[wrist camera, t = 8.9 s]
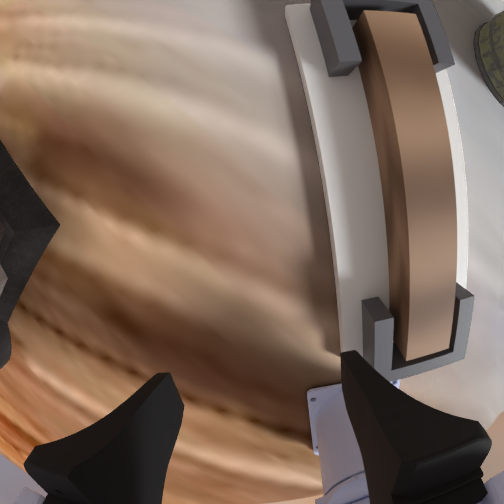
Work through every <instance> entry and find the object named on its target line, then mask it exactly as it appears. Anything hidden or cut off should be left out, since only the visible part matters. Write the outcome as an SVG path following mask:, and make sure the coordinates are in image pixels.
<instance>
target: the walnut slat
mask: <svg viewBox="0 0 504 504" xmlns="http://www.w3.org/2000/svg"><path fill="white" fill-rule="evenodd" d="M352 29H353V32H354V35H355V39H356V42H357V45H358V49H359V52H360V55H361V59H362V61H361V62H360V63H359V64H358V68H359V72H360V75H361V79H362V83H363V88H364V92H365V96H366V100H367V105H368V110H369V114H370V119H371V124H372V129H373V135H374V140H375V146H376V152H377V158H378V165H379V171H380V179H381V186H382V194H383V203H384V213H385V223H386V236H387V251H388V271H389V312H390V313H391V315H392V316H393V317H394V329H393V341H394V342H395V344H396V345H397V347H398V349H399V350H400V352H401V354H402V355H403V357H404V359H405V360H406V361H409V360H412V359H416V358H419V357H423V356H426V355H429V354H432V353H436V352H439V351H442V350H445V349H448V348H449V343H450V337H451V329H452V322H453V313H454V303H455V291H456V275H457V208H456V192H455V180H454V170H453V161H452V153H451V146H450V139H449V133H448V127H447V122H446V117H445V112H444V107H443V102H442V98H441V93H440V89H439V85H438V81H437V77H436V73H435V70H434V66H433V63H432V59H431V56H430V53H429V50H428V46H427V43H426V40H425V37H424V35H423V32H422V29H421V26H420V23H419V21H418V18H417V16H416V14H412V13H402V12H390V11H371V10H364V11H363V12H362V14H361V15H360V17H359V18H358V20H357V22H356V23H355V25H354V26H353V28H352Z"/></svg>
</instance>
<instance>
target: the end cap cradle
mask: <svg viewBox="0 0 504 504" xmlns="http://www.w3.org/2000/svg"><path fill="white" fill-rule="evenodd" d="M364 10H371V11H390V12H402V13H412V14H416V16H417V18H418V21H419V23H420V26H421V29H422V32H423V35H424V37H425V40H426V43H427V46H428V50H429V53H430V56H431V59H432V63H433V66H434V70H435V73H436V77H437V81H438V85H439V89H440V93H441V98H442V102H443V107H444V112H445V117H446V122H447V127H448V133H449V139H450V146H451V153H452V161H453V170H454V180H455V192H456V208H457V275H456V291H455V303H454V313H453V322H452V329H451V337H450V343H449V348H448V349H445V350H442V351H439V352H436V353H432V354H429V355H426V356H423V357H419V358H416V359H412V360H409V361H406V360H405V359H404V357H403V355H402V354H401V352H400V350H399V349H398V347H397V345H396V344H395V342H394V341H393V329H394V317H393V316H392V315H391V313H390V312H389V271H388V251H387V236H386V223H385V213H384V203H383V194H382V186H381V179H380V171H379V165H378V158H377V152H376V146H375V140H374V135H373V129H372V124H371V119H370V114H369V110H368V105H367V100H366V96H365V92H364V88H363V83H362V79H361V75H360V72H359V68H358V64H359V63H360V62H361V61H362V59H361V55H360V52H359V49H358V45H357V42H356V39H355V35H354V32H353V29H352V28H353V26H354V25H355V23H356V22H357V20H358V18H359V17H360V15H361V14H362V12H363V11H364ZM285 18H286V22H287V25H288V29H289V32H290V36H291V40H292V43H293V47H294V51H295V55H296V59H297V63H298V67H299V71H300V75H301V79H302V83H303V88H304V92H305V96H306V101H307V106H308V110H309V115H310V120H311V125H312V130H313V135H314V140H315V145H316V150H317V156H318V161H319V167H320V173H321V179H322V185H323V191H324V198H325V204H326V211H327V218H328V225H329V233H330V241H331V249H332V257H333V266H334V275H335V285H336V295H337V307H338V319H339V333H340V349H341V352H346V351H351V350H356V351H358V353H359V354H360V355H361V356H362V357H363V358H364V359H365V360H366V361H367V362H368V363H369V364H370V365H371V366H372V367H373V368H374V369H375V370H376V371H377V372H379V373H380V374H381V375H382V376H383V377H384V378H385V379H387V380H388V381H389V382H392V381H395V380H399V379H403V378H406V377H410V376H413V375H417V374H420V373H423V372H427V371H430V370H433V369H436V368H439V367H442V366H445V365H448V364H451V363H454V362H456V361H459V360H462V359H464V358H465V353H466V348H467V343H468V337H469V332H470V325H471V319H472V312H473V304H474V295H473V294H471V293H470V292H469V291H467V290H466V283H467V267H468V202H467V186H466V175H465V165H464V156H463V149H462V142H461V135H460V129H459V123H458V118H457V113H456V108H455V103H454V99H453V94H452V90H451V86H450V82H449V78H448V74H447V71H446V68H448V67H450V66H452V65H455V63H454V60H453V56H452V53H451V50H450V47H449V44H448V41H447V38H446V35H445V32H444V30H443V27H442V24H441V22H440V19H439V16H438V14H437V12H436V9H435V7H434V4H433V2H432V0H312V1H311V3H302V4H291V5H285Z"/></svg>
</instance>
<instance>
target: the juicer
mask: <svg viewBox="0 0 504 504" xmlns="http://www.w3.org/2000/svg"><path fill="white" fill-rule="evenodd" d="M59 226H60V224H59V223H58V221H57V220H56V219H55V218H54V216H53V215H52V214H51V212H50V211H49V210H48V208H47V207H46V206H45V205H44V203H43V202H42V201H41V199H40V198H39V196H38V195H37V194H36V192H35V191H34V190H33V188H32V187H31V185H30V184H29V183H28V181H27V180H26V178H25V177H24V175H23V174H22V172H21V171H20V170H19V168H18V167H17V165H16V164H15V162H14V161H13V159H12V158H11V156H10V154H9V153H8V151H7V150H6V148H5V147H4V145H3V143H2V142H1V140H0V369H1V368H2V367H3V366H4V365H5V364H6V363H7V362H8V360H9V359H10V355H11V338H10V332H9V328H8V321H9V319H10V316H11V314H12V312H13V310H14V308H15V305H16V303H17V301H18V299H19V297H20V295H21V293H22V291H23V289H24V287H25V285H26V283H27V281H28V279H29V277H30V276H31V274H32V272H33V270H34V268H35V266H36V264H37V263H38V261H39V259H40V257H41V256H42V254H43V252H44V250H45V249H46V247H47V245H48V244H49V242H50V240H51V239H52V237H53V235H54V234H55V232H56V231H57V229H58V227H59Z"/></svg>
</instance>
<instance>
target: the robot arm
mask: <svg viewBox="0 0 504 504" xmlns="http://www.w3.org/2000/svg"><path fill="white" fill-rule="evenodd" d="M340 356H341V378H342V383H341V384H336V385H330V386H325V387H319V388H313V389H310V390H308V391H307V400H308V408H309V416H310V425H311V433H312V442H313V451H314V454H315V455H319V459H320V467H321V476H322V484H323V493H324V496H323V497H321V498H319V499H316V500H315V503H316V504H504V471H503V472H501V473H499V474H497V475H496V476H494V477H492V478H491V479H489V480H488V481H487V482H486V483H485V484H484V483H483V481H482V479H481V478H482V477H483V472H482V470H481V468H480V466H481V465H482V463H483V461H484V460H485V458H486V456H487V455H488V453H489V451H490V448H491V445H492V441H491V439H490V437H489V436H488V434H487V432H486V431H485V429H484V428H483V427H482V426H481V424H480V423H479V422H478V421H474V420H470V419H465V418H461V417H457V416H454V415H450V414H447V413H444V412H442V411H439V410H437V409H434V408H432V407H430V406H428V405H425V404H423V403H421V402H419V401H417V400H415V399H414V398H412V397H410V396H409V395H407V394H406V393H404V392H403V391H401V390H400V389H399V384H400V379H399V380H395V381H394V382H393V381H392V382H389V381H388V380H387V379H385V378H384V377H383V376H382V375H381V374H380V373H379V372H377V371H376V370H375V369H374V368H373V367H372V366H371V365H370V364H369V363H368V362H367V361H366V360H365V359H364V358H363V357H362V356H361V355H360V354H359V353H358V351H356V350H351V351H346V352H341V353H340ZM311 398H314V399H311ZM183 411H184V404H183V402H182V399H181V397H180V395H179V393H178V390H177V388H176V386H175V383H174V381H173V378H172V376H171V374H170V373H157V374H156V375H154V376H153V377H152V378H151V379H150V380H149V381H147V382H146V383H145V384H144V385H143V386H142V387H141V388H140V389H139V390H137V391H136V392H135V393H134V394H133V395H132V396H131V397H129V398H128V399H127V400H126V401H125V402H123V403H122V404H121V405H120V406H118V407H117V408H116V409H115V410H113V411H112V412H111V413H109V414H108V415H107V416H105V417H104V418H102V419H100V420H99V421H97V422H96V423H94V424H92V425H91V426H89V427H87V428H85V429H83V430H81V431H79V432H77V433H75V434H72V435H70V436H68V437H65V438H62V439H60V440H57V441H54V442H50V443H46V444H42V445H38V446H35V447H34V449H33V450H32V452H31V453H30V455H29V456H28V458H27V459H26V461H25V462H24V467H25V470H26V471H27V473H28V474H29V475H30V476H31V477H32V478H33V479H34V480H35V481H36V482H37V483H38V484H39V485H40V486H41V487H42V488H43V489H44V490H45V491H46V492H47V493H48V495H47V496H46V498H45V497H43V496H42V495H40V494H38V493H36V492H34V491H32V490H30V489H28V488H26V487H24V488H23V489H22V491H21V493H20V494H19V496H18V498H17V499H16V501H15V502H14V504H162V496H163V489H164V483H165V477H166V472H167V468H168V464H169V461H170V458H171V455H172V452H173V449H174V446H175V443H176V440H177V436H178V433H179V430H180V427H181V423H182V418H183Z"/></svg>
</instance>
